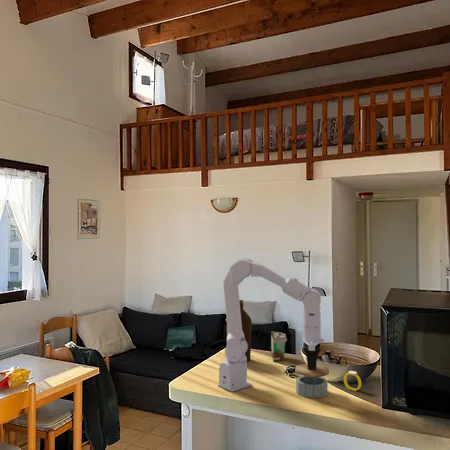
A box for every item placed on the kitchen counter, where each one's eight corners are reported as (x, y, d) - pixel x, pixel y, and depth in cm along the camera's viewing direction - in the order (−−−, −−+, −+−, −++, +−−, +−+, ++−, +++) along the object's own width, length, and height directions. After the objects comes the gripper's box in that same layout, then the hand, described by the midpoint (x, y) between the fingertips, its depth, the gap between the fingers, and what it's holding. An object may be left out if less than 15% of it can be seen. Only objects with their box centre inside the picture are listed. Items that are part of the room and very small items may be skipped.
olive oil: (245, 355, 185) (245, 297, 185) (256, 362, 175) (256, 301, 176) (222, 358, 181) (222, 298, 181) (232, 365, 171) (232, 302, 172)
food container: (288, 363, 175) (288, 338, 175) (273, 362, 175) (273, 338, 175) (285, 354, 187) (285, 331, 187) (270, 354, 187) (271, 331, 187)
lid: (314, 379, 135) (314, 365, 135) (288, 370, 144) (288, 357, 144) (335, 372, 142) (335, 358, 142) (309, 364, 151) (309, 351, 151)
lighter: (340, 380, 154) (340, 358, 154) (337, 381, 153) (337, 359, 153) (324, 375, 159) (324, 354, 160) (321, 376, 158) (321, 354, 159)
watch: (362, 391, 145) (363, 374, 144) (357, 393, 143) (358, 376, 143) (346, 385, 149) (347, 368, 149) (342, 387, 147) (343, 370, 147)
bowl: (314, 400, 136) (314, 388, 136) (290, 391, 143) (290, 379, 143) (333, 393, 142) (333, 381, 142) (309, 384, 150) (309, 373, 150)
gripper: (324, 331, 135) (324, 374, 135) (323, 321, 149) (323, 360, 149) (301, 330, 137) (301, 373, 136) (303, 320, 151) (303, 359, 151)
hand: (311, 366), depth 143 cm, fingers closed on lid, 3 cm apart
